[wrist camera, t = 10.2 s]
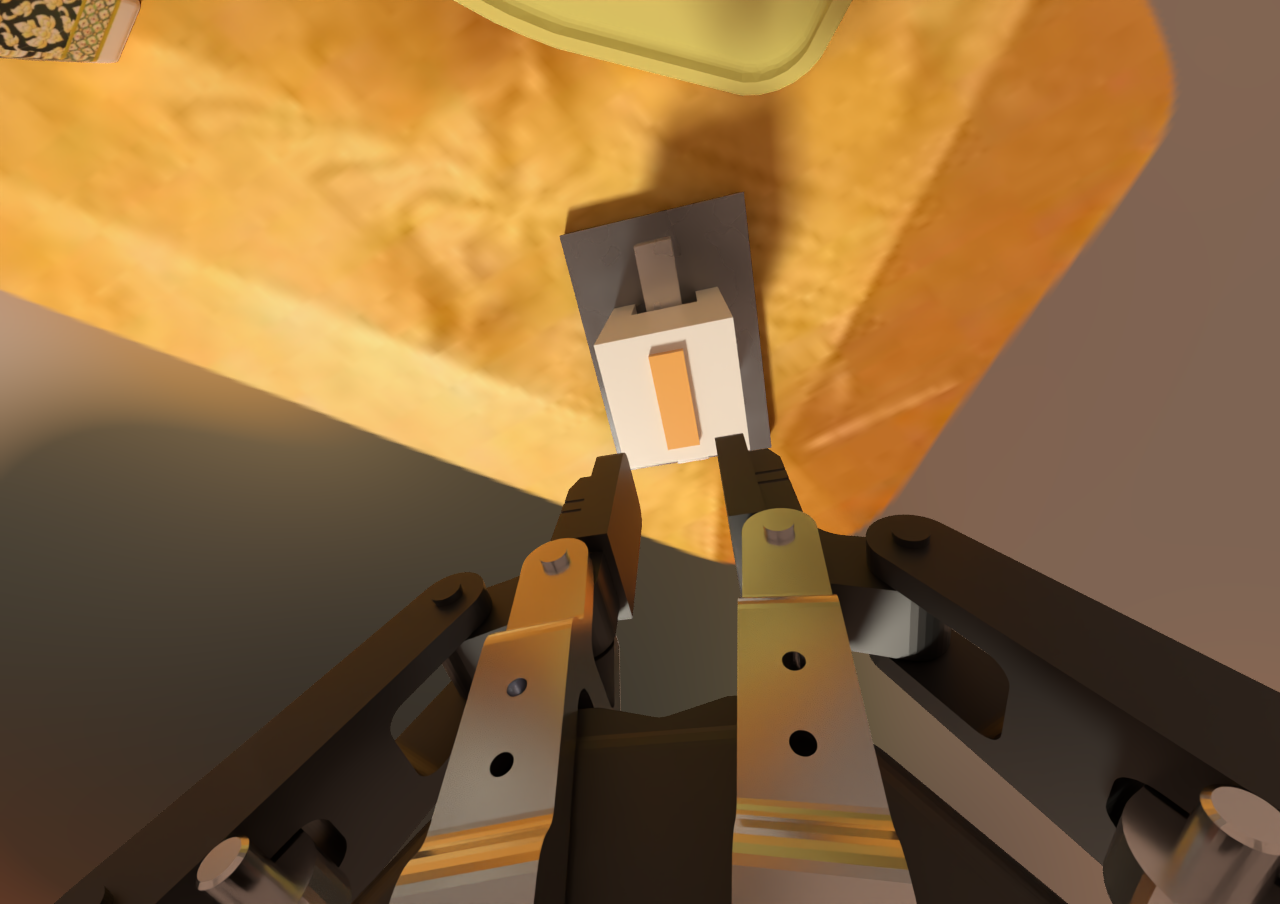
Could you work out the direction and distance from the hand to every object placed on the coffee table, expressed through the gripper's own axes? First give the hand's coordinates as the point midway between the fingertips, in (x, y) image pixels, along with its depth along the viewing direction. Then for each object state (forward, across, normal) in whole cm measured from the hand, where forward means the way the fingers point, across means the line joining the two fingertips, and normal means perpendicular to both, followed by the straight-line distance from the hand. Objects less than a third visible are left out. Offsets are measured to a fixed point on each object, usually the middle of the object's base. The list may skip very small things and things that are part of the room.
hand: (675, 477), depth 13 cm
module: (+12, 0, 0) cm, 12 cm away
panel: (+13, 0, 0) cm, 13 cm away
